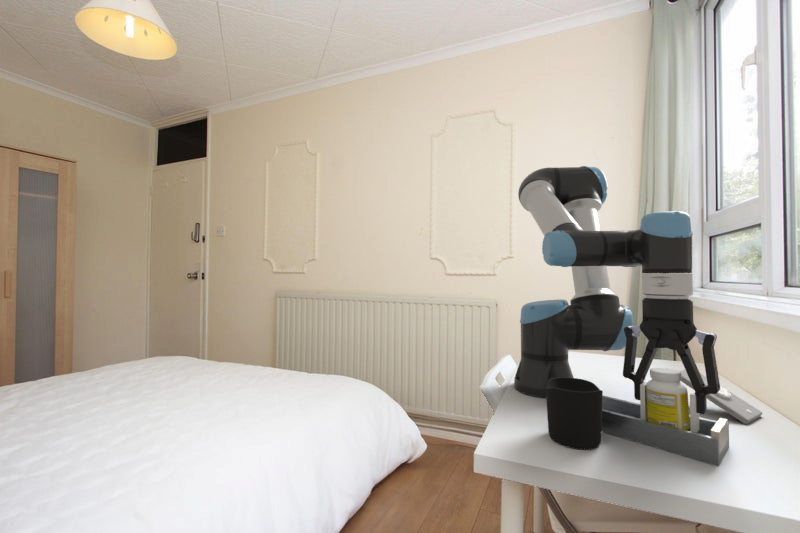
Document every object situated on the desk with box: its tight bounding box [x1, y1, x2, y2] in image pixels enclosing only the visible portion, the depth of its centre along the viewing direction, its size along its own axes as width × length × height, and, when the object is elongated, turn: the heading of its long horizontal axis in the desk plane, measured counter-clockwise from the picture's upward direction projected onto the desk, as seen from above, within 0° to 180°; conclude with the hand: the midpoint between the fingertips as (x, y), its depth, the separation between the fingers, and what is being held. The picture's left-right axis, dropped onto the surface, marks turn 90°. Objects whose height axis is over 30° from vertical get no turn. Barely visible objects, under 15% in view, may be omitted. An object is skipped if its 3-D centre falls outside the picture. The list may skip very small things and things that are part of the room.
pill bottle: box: [646, 367, 690, 431], centre depth 67 cm, size 6×6×11 cm
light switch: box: [680, 369, 763, 425], centre depth 83 cm, size 8×6×14 cm
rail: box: [601, 395, 730, 467], centre depth 69 cm, size 21×10×5 cm, turn 41°
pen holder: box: [545, 377, 604, 450], centre depth 68 cm, size 9×9×10 cm
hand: (669, 424), depth 67 cm, fingers open, 7 cm apart
